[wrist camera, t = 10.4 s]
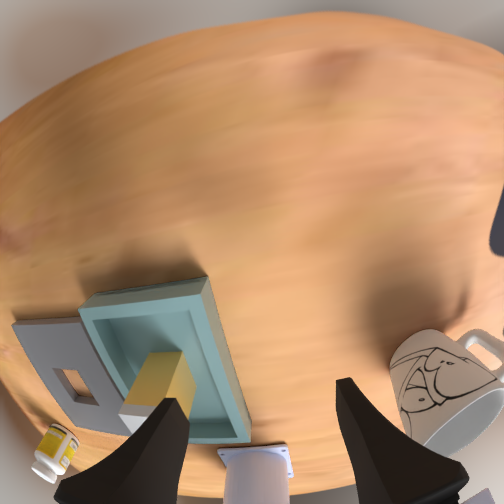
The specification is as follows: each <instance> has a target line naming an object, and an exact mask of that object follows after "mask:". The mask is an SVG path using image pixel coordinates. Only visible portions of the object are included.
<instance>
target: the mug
mask: <svg viewBox="0 0 504 504" xmlns="http://www.w3.org/2000/svg"><path fill="white" fill-rule="evenodd" d="M474 343H476V344H479V345H481V346H482V347H484V348H485V349H486V350H488V351H489V352H491V353H492V354H494V355H495V356H496V357H497V358H499V359H500V360H501V361H502V363H503V364H502V366H501V367H499V368H498V369H496V370H494V371H490V370H489V369H488V368H487V367H486V366H485V365H484V364H483V363H482V362H481V361H480V360H479V359H478V358H476V357H475V356H474V355H473V354H472V353H471V352H469V351H468V350H467V349H468V347H469V346H470V345H472V344H474ZM389 369H390V377H391V381H392V385H393V389H394V393H395V397H396V402H397V406H398V410H399V414H400V417H401V420H402V423H403V426H404V429H405V432H406V435H407V436H409V437H410V438H411V439H413V440H414V441H416V442H418V443H419V444H421V445H423V446H425V447H426V448H428V449H430V450H432V451H434V452H436V453H438V454H440V455H442V456H445V457H449V456H451V455H453V454H454V453H456V452H458V451H459V450H461V449H463V448H464V447H465V446H467V445H468V444H470V443H471V442H472V441H473V440H475V439H476V438H477V437H478V436H479V435H480V434H482V433H483V432H484V430H486V429H487V428H488V426H489V425H490V424H491V423H492V422H493V421H494V420H495V418H496V417H497V415H498V414H499V413H500V411H501V409H502V408H503V406H504V384H503V382H504V342H503V341H501V340H499V339H497V338H495V337H494V336H492V335H490V334H489V333H487V332H486V331H484V330H481V329H473V330H470V331H468V332H467V333H465V334H464V335H463V336H461V337H460V338H459V339H458V340H457V341H454V340H452V339H451V338H449V337H448V336H446V335H445V334H443V333H442V332H440V331H438V330H434V329H426V330H422V331H419V332H417V333H415V334H413V335H412V336H410V337H409V338H407V339H406V340H405V341H404V342H403V343H402V344H401V345H400V346H399V347H398V349H397V350H396V351H395V353H394V355H393V357H392V359H391V362H390V368H389Z"/></svg>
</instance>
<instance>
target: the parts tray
mask: <svg viewBox="0 0 504 504" xmlns="http://www.w3.org/2000/svg"><path fill="white" fill-rule="evenodd" d="M78 311H79V313H80V316H81V318H82V320H83V322H84V325H85V327H86V329H87V331H88V333H89V335H90V337H91V339H92V341H93V343H94V345H95V347H96V349H97V351H98V353H99V355H100V357H101V359H102V361H103V363H104V364H105V366H106V368H107V370H108V372H109V373H110V375H111V377H112V379H113V380H114V382H115V384H116V385H117V387H118V389H119V390H120V392H121V394H122V395H123V397H124V398H125V399H126V397H127V395H128V393H129V391H130V389H131V387H132V385H133V383H134V381H135V379H136V377H137V375H138V374H139V372H140V370H141V368H142V366H143V364H144V362H145V360H146V358H147V356H148V354H149V353H157V352H179V351H183V353H184V356H185V359H186V361H187V364H188V366H189V369H190V371H191V374H192V376H193V379H194V381H195V384H196V386H197V388H196V391H195V395H194V399H193V403H192V407H191V411H190V415H189V419H188V421H189V422H190V430H189V440H188V443H193V444H226V443H248V442H251V422H252V421H251V418H250V415H249V412H248V409H247V406H246V403H245V400H244V397H243V394H242V390H241V387H240V384H239V381H238V378H237V375H236V372H235V368H234V365H233V362H232V359H231V355H230V352H229V349H228V345H227V342H226V338H225V335H224V332H223V328H222V325H221V321H220V318H219V314H218V310H217V307H216V303H215V300H214V296H213V292H212V288H211V285H210V281H209V277H208V276H207V277H201V278H194V279H188V280H181V281H175V282H168V283H162V284H155V285H149V286H142V287H135V288H128V289H121V290H114V291H107V292H100V293H95V294H94V295H92V296H91V297H90V298H89V299H88V300H87V301H86V302H85V303H84V304H83V305H81V306H80V307H79V308H78Z"/></svg>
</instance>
